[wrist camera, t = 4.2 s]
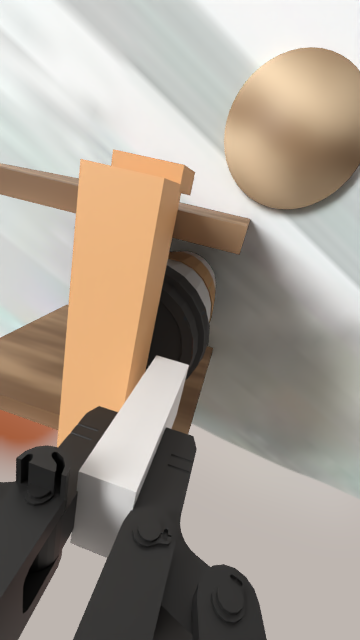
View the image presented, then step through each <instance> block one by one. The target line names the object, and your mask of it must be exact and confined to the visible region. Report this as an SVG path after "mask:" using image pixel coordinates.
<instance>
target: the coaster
mask: <svg viewBox="0 0 360 640" xmlns="http://www.w3.org/2000/svg"><path fill="white" fill-rule="evenodd" d="M224 146H225V155H226V161H227V164H228V167H229V170H230V172H231V175H232V177H233V179H234V180H235V182H236V183H237V185H238V186H239V187H240V189H241V190H242V191H243V192H244V193H245V194H246V195H247V196H249V197H250V198H251V199H253V200H254V201H256V202H258V203H260V204H262V205H264V206H268V207H271V208H277V209H296V208H301V207H306V206H309V205H312V204H314V203H317V202H319V201H321V200H323V199H325V198H326V197H328V196H329V195H331V194H332V193H334V192H335V191H336V190H338V189H339V188H340V187H341V186H342V185H343V184H344V183H345V182H346V181H347V180H348V179H349V178H350V177H351V175H352V174H353V173H354V172H355V170H356V169H357V167H358V166H359V164H360V71H359V70H358V68H357V67H356V66H355V65H354V64H353V63H352V62H351V61H350V60H348V59H347V58H345V57H344V56H342V55H340V54H338V53H336V52H334V51H331V50H327V49H323V48H312V47H310V48H300V49H295V50H291V51H288V52H286V53H283V54H280V55H278V56H277V57H275V58H273V59H271V60H269V61H268V62H267V63H265V64H264V65H262V66H261V67H260V68H259V69H258V70H257V71H256V72H254V73H253V74H252V75H251V77H250V78H249V79H248V80H247V81H246V82H245V84H244V85H243V87H242V88H241V89H240V91H239V93H238V94H237V96H236V98H235V100H234V102H233V104H232V107H231V109H230V112H229V115H228V118H227V122H226V128H225V137H224Z"/></svg>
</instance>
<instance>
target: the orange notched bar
mask: <svg viewBox="0 0 360 640" xmlns="http://www.w3.org/2000/svg"><path fill="white" fill-rule="evenodd" d="M194 175H195V172H194V171H192V170H191V169H189V168H188V167H186V166H185V165H182V164H177V163H173V162H168V161H164V160H159V159H155V158H150V157H145V156H141V155H136V154H132V153H127V152H122V151H118V150H113V155H112V164H111V166H109V165H105V164H100V163H96V162H92V161H87V160H83V159H81V161H80V173H79V185H78V197H77V209H76V221H75V234H74V246H73V258H72V270H71V282H70V294H69V307H68V319H67V331H66V343H65V355H64V367H63V380H62V392H61V404H60V416H59V428H58V441H57V447H59V446H60V444H61V443H62V442H63V441H64V440H65V438H66V437H67V436H68V435H69V434H70V433H71V431H72V430H73V429H74V428H75V426H76V425H78V423H79V421H80V420H81V419H82V418H83V417H84V415H85V414H86V413H87V412H89V411H91V410H93V409H95V408H96V407H98V406H101V407H104V408H107V409H110V410H113V411H116V412H119V410H120V409H121V408H122V406H123V405H124V403H125V402H126V400H127V399H128V397H129V396H130V394H131V393H132V391H133V390H134V388H135V387H136V385H137V384H138V382H139V381H140V379H141V378H142V376H143V375H144V373H145V370H146V365H147V360H148V355H149V350H150V345H151V340H152V335H153V330H154V325H155V320H156V315H157V310H158V305H159V300H160V296H161V291H162V286H163V281H164V276H165V271H166V266H167V261H168V256H169V251H170V246H171V241H172V236H173V231H174V226H175V221H176V216H177V211H178V206H179V201H180V196H181V193H183V194H187V195H190V194H191V189H192V184H193V180H194Z"/></svg>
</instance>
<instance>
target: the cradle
mask: <svg viewBox="0 0 360 640" xmlns="http://www.w3.org/2000/svg"><path fill="white" fill-rule="evenodd" d="M78 185H79V179H78V178H73V177H68V176H63V175H58V174H53V173H48V172H43V171H37V170H32V169H27V168H22V167H17V166H12V165H6V164H1V163H0V194H1V195H5V196H9V197H13V198H17V199H21V200H25V201H29V202H33V203H37V204H41V205H45V206H49V207H53V208H57V209H61V210H65V211H69V212H73V213H76V209H77V197H78ZM249 222H250V219H248V218H244V217H239V216H235V215H231V214H227V213H222V212H218V211H214V210H210V209H206V208H201V207H197V206H193V205H189V204H184V203H180V202H179V206H178V211H177V216H176V221H175V226H174V231H173V236H172V238H176V239H180V240H183V241H187V242H191V243H195V244H199V245H203V246H207V247H211V248H215V249H219V250H223V251H227V252H231V253H235V254H240V251H241V248H242V245H243V242H244V239H245V236H246V233H247V229H248V226H249ZM68 307H69V305H65V306H63V307H61V308H59V309H57V310H55V311H53V312H51V313H49V314H47V315H45V316H43V317H41V318H39V319H37V320H35V321H33V322H31V323H29V324H27V325H25V326H23V327H21V328H19V329H17V330H15V331H13V332H11V333H9V334H7V335H5V336H3V337H1V338H0V410H3V411H6V412H9V413H12V414H14V415H17V416H20V417H23V418H26V419H29V420H31V421H34V422H37V423H40V424H42V425H45V426H48V427H51V428H54V429H56V430H58V428H59V416H60V404H61V392H62V380H63V367H64V355H65V343H66V331H67V319H68ZM212 351H213V348H211V347H208V346H207V348H206V350H205V353H204V356H203V358H202V359H201V361H200V362H199V364H198V366H197V367H196V368H195V370H194V371H193V372H192V374H191V375H190V376H189V378H188V379H186V380H185V383H184V387H183V391H182V395H181V399H180V403H179V407H178V411H177V415H176V418H175V420H174V423H173V426H172V428H171V429H173V430H176V431H179V432H182V433H185V434H188V432H189V429H190V426H191V422H192V419H193V416H194V412H195V409H196V405H197V402H198V399H199V395H200V392H201V388H202V385H203V382H204V378H205V375H206V371H207V368H208V365H209V361H210V358H211V354H212Z"/></svg>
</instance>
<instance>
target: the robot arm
mask: <svg viewBox="0 0 360 640" xmlns="http://www.w3.org/2000/svg"><path fill="white" fill-rule="evenodd" d="M188 367H189V365H187V364H184V363H180V362H177V361H174V360H170V359H167V358H164V357H160V356H157V355H156V357H155V358H154V360H153V361H152V363H151V364H150V366H149V367H148V369H147V370H146V372H145V373H144V375H143V376H142V378H141V379H140V381H139V382H138V384H137V385H136V387H135V388H134V390H133V391H132V393H131V394H130V396H129V397H128V399H127V400H126V402H125V403H124V405H123V406H122V408H121V409H120V410H119V412H116V411H113V410H110V409H107V408H104V407H101V406H98V407H96V408H95V409H93V410H91V411H89V412H87V413H86V414H85V415H84V417H83V418H82V419H81V420H80V421H79V423H78V425H76V426H75V428H74V429H73V430H72V431H71V433H70V434H69V435H68V436H67V437H66V438H65V440H64V441H63V442H62V443H61V444H60V446H59V447H53V446H39V447H35V448H32V449H29V450H27V451H25V452H24V453H22V454H21V455H20V456H19V457H17V459H16V481H15V482H4V483H3V482H0V640H18V639H19V637H20V635H21V633H22V631H23V629H24V628H25V626H26V624H27V622H28V620H29V618H30V617H31V615H32V613H33V611H34V609H35V607H36V606H37V604H38V602H39V600H40V598H41V596H42V595H43V593H44V591H45V589H46V587H47V585H48V583H49V582H50V580H51V578H52V576H53V575H54V573H55V571H56V569H57V567H58V565H59V562H60V559H61V555H62V548H63V546H64V545H65V543H66V541H67V539H68V538H69V536H70V534H71V532H72V534H71V543H72V544H74V545H77V546H79V547H82V548H85V549H87V550H89V551H92V552H94V553H97V554H99V555H102V556H104V557H107V560H106V563H105V565H104V568H103V570H102V572H101V575H100V577H99V580H98V582H97V584H96V587H95V589H94V592H93V594H92V596H91V599H90V601H89V603H88V606H87V608H86V610H85V613H84V615H83V617H82V620H81V622H80V624H79V627H78V629H77V632H76V634H75V637H74V639H73V640H267V639H266V634H265V630H264V625H263V620H262V615H261V610H260V605H259V602H258V599H257V596H256V593H255V590H254V588H253V587H252V586H251V584H250V582H249V581H248V580H247V578H246V577H245V576H244V575H243V574H241V573H240V572H239V571H238V570H236V569H235V568H233V567H230V566H227V565H224V564H223V565H215V566H212V567H210V566H208V565H207V564H206V563H205V562H204V561H202V560H201V559H200V558H199V557H198V556H196V555H195V554H194V553H193V552H192V551H191V550H190V549H189V547H188V546H187V544H186V543H185V541H184V538H183V536H182V533H181V529H180V517H181V512H182V508H183V504H184V500H185V495H186V491H187V487H188V483H189V479H190V474H191V470H192V466H193V462H194V457H195V453H196V446H195V441H194V437H193V436H191V435H188V434H185V433H182V432H179V431H176V430H173V429H171V428H172V426H173V423H174V420H175V418H176V415H177V411H178V407H179V403H180V399H181V395H182V391H183V387H184V383H185V379H186V375H187V371H188Z"/></svg>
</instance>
